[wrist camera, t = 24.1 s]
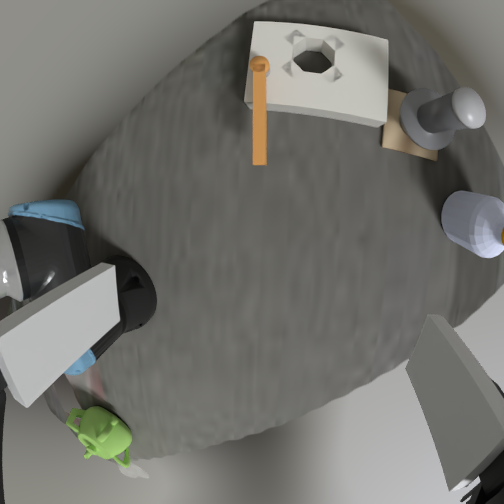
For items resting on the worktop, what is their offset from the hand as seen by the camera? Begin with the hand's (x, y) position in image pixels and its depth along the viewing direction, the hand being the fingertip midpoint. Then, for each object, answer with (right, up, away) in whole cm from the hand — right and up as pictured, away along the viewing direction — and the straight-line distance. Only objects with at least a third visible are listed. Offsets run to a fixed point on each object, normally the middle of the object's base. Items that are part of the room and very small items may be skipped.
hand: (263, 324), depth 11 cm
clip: (+1, +21, +23) cm, 32 cm away
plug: (+25, +23, +25) cm, 42 cm away
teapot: (-46, -52, +60) cm, 92 cm away
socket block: (+10, +30, +26) cm, 41 cm away
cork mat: (+25, +23, +26) cm, 43 cm away
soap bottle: (+35, +9, +28) cm, 46 cm away
